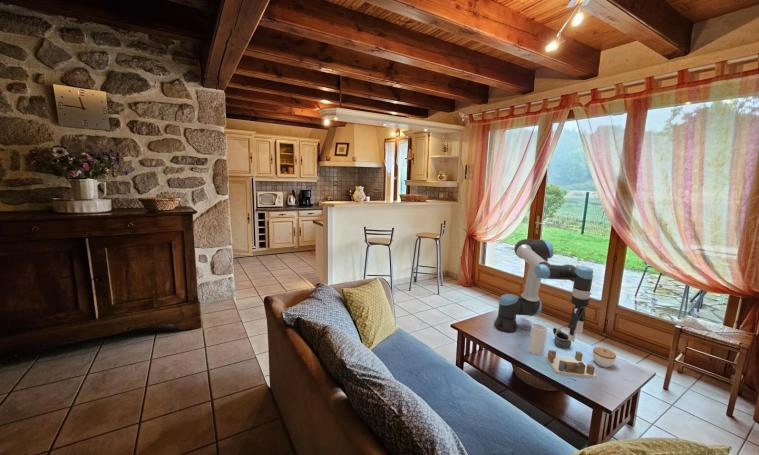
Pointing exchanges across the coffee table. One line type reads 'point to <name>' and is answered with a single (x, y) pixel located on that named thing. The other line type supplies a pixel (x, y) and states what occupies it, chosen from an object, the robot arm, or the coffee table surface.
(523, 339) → the coffee table surface
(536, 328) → the cup
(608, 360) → the lidded jar
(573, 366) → the brown rectangular block
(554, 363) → the seat board
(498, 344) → the coffee table surface
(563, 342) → the teapot
